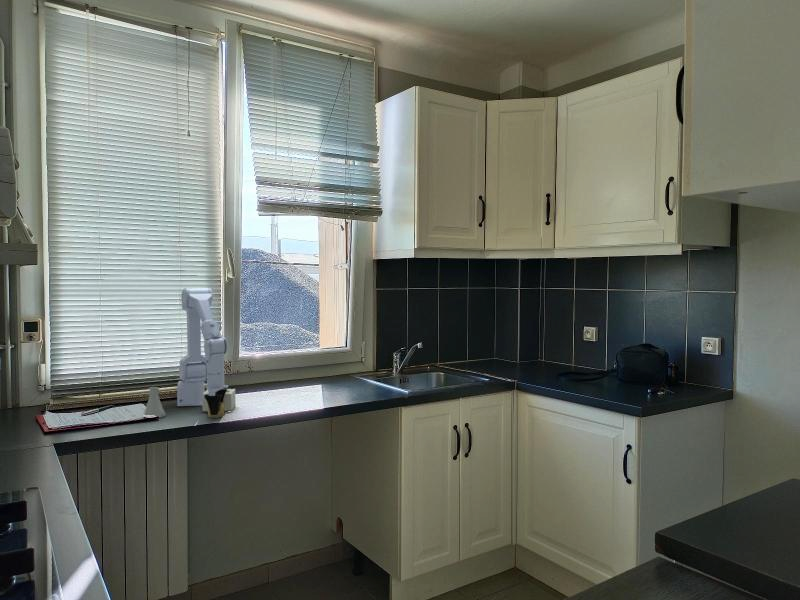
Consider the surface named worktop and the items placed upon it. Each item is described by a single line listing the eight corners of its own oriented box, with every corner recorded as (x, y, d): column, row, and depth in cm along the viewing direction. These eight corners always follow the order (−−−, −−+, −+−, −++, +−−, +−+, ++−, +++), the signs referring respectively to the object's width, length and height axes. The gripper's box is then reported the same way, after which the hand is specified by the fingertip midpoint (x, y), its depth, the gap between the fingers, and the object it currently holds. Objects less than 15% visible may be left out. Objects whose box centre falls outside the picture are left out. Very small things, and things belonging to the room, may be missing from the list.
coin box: (202, 412, 211) (202, 394, 211) (207, 407, 220) (207, 389, 219) (231, 411, 212) (231, 393, 212) (235, 406, 221) (235, 389, 220)
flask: (158, 413, 210) (158, 385, 210) (169, 416, 206) (169, 387, 205) (138, 417, 205) (138, 388, 204) (149, 420, 200) (149, 390, 200)
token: (208, 417, 204) (207, 403, 204) (209, 416, 206) (209, 401, 206) (223, 417, 204) (222, 403, 204) (224, 415, 207) (224, 401, 207)
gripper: (223, 376, 198) (224, 417, 199) (231, 369, 212) (231, 407, 213) (201, 377, 197) (202, 417, 198) (210, 369, 212) (211, 407, 212)
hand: (216, 412), depth 205 cm, fingers open, 6 cm apart
